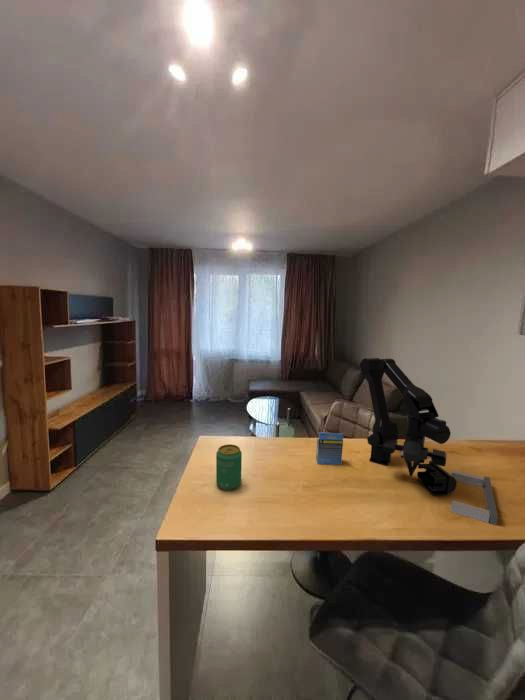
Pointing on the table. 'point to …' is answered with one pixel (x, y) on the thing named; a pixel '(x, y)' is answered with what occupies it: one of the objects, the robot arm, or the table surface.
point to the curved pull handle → (472, 511)
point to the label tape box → (329, 448)
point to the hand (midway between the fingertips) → (411, 475)
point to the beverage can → (228, 467)
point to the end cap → (436, 479)
